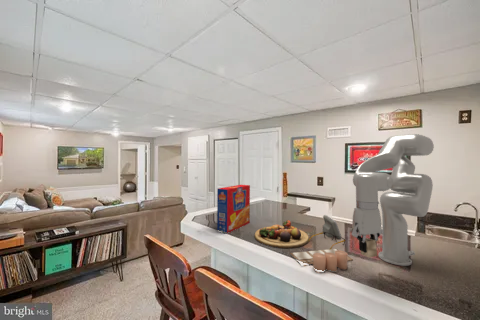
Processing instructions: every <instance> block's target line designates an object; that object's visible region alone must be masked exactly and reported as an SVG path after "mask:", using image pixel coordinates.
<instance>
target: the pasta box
mask: <svg viewBox="0 0 480 320" xmlns="http://www.w3.org/2000/svg"><path fill="white" fill-rule="evenodd" d="M216 189H217V193H216V194H217V195H216V196H217V200H216V201H217V202H216V203H217V206H216V209H217V212H216V213H217V214H216V218H217V219H216V220H217V222H216V223H217V224H216V227H217V228H216V229H217V230H219V231H223V232H227V233H228V232H230V233H232V232H234V231H236V230H239V229H240V227H241V228H243V227H245V226H247V225H249V224H251V222H250V221H251V220H250V219H251V218H250V217H251V211H250V210H251V209H250V208H251V206H250V203H251V194H250V193H251V185H249V184H236V185H231V186H223V187H219V188H216ZM242 226H243V227H242ZM235 229H236V230H235ZM233 230H234V231H233ZM231 231H232V232H231ZM228 234H229V233H228Z"/></svg>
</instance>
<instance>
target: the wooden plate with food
mask: <svg viewBox="0 0 480 320" xmlns="http://www.w3.org/2000/svg"><path fill="white" fill-rule="evenodd" d="M254 239H255V240H256V241H257V242H258V241H259V242H258V243H260V244H262V243H263V244H262V245H264V244H265V245H264V246H267V245H269V246H268V247H270V246H272V247H271V248H275V247H278V248H277V249H297V248H301V247H303V246H306V245H307V244H308V243H309V242H310V241H309V239H310V236H309V234H308V233H306V232H305V231H304V230H301V229H299V228H298V227H296V226H292V223H291V221H290V220H289V219H288V220H285V221H283V223H282V225H280V224H273V225H270V226H265V227H261V228H259V229H257V230H256V231H255V233H254ZM308 241H309V242H308Z"/></svg>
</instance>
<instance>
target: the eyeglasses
mask: <svg viewBox="0 0 480 320" xmlns="http://www.w3.org/2000/svg"><path fill="white" fill-rule="evenodd" d="M325 233H327V232H323V231H322V232H318V233H315V234H312V236H311V237H309V241H308V243H309V242H310V240H311V239H312V238H313V237H315V236H319V235H323V236H324V238H326V235H325ZM329 234H330V233H329ZM331 235H332V234H331ZM337 237H339V236H334V235H333V237H332V239H331V241H333V240H334V239H335V242H336V243H334V244H332V245H331V247H330V248H329V249H333V247H334V246H335V245H337V244H340V243H342V245H343V246H344V245H345V243H346V241H347V240H346V239H345V238H344V237H342V236H341V237H340V239H342V240H340V241H337V240H338V239H337Z"/></svg>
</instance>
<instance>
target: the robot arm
mask: <svg viewBox="0 0 480 320" xmlns="http://www.w3.org/2000/svg"><path fill="white" fill-rule="evenodd" d="M434 148H435V146H434V141H433V140H432V138H430V137H428V136H425V135H423V134H417V133H412V134H410V133H409V134H402V135H401V134H400V135H393V136H390V137H388V138H387V139H386V140H385V142H384V143H383V145H382V147H381V148H380V150H379V152H378V153H377V154H376V155H374V156H372V157H370V158H368V159H366V160H365V161H363V162H361V164H360V165H359V166H358V167H357V168H356V170H355V172H354V174H353V176H352V183H353V184H352V185H354V187H355V208H353V213H352V224H351V225H352V226H351V227H352V232H351V236H352V237H355V239H357V241H358V248H359V250H361V251H363V252H364V253H366V252H367V246H366V242H365V239H366V238H367V236H369V238H370V239H373V240H376V242H377V241H379V237H380V235H382V237H381V238H382V241H381V244H382V246H381V247H382V248H381V250H382V251H379V252H378V253H377V257H378V258H379V259H381V260H382V261H384V262H386V263H388V264H392V265H395V266H403V267H407V266H411V265H412V263H413V261H412V259H411V258H410V256H415V255H416V252H415V251H414V250H408V236H409V235H408V232H409V231H408V230H409V229H408V227H409V225H408V222H407V220H406V218H405V216H411V217H418V218H423V217H425V216H427V214H428V212H429V207H430V202H431V198H432V193H433V185H434V183H433V180H432V178H431V177H430V176H429V175H428V174H424V173H415V170H416V165H415V164H414V163H413V162H412V161H411V160H410V159H409V158H408V157H407V156H409V157H410V156H411V157H412V156H413V157H417V156H418V157H419V156H420V157H421V156H422V157H423V156H428V155H429V156H430V155H431V154H432V153H433V151H434ZM389 169H392V172H391V174H390V173H386V172H380V171H384V170H389ZM378 171H379V172H378ZM388 190H391V191H388ZM386 191H387V192H386ZM379 192H383V193H382V194H381V195H380V197H379ZM379 205H380V208H381V209H379ZM380 210H381V212H380ZM404 215H405V216H404ZM377 247H378V246H377V245H376V249H377ZM361 251H360V252H361Z"/></svg>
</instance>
